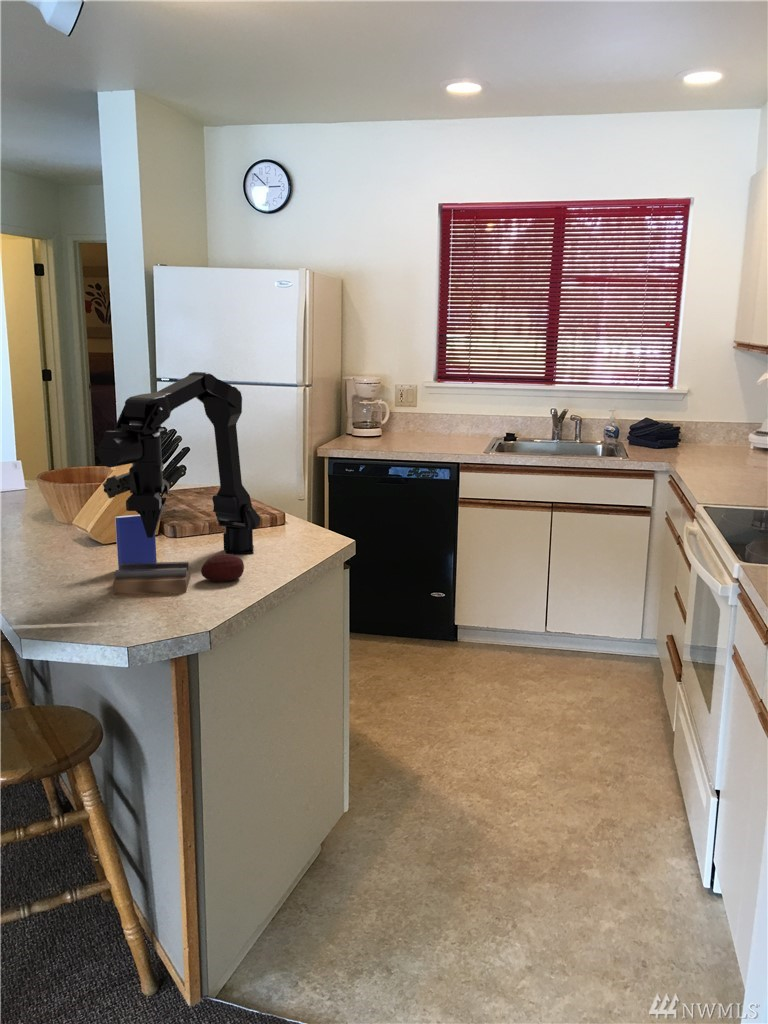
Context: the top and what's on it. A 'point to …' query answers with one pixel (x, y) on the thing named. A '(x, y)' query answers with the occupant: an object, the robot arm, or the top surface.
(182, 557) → the top surface
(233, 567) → the potato
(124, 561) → the hard drive
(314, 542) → the top surface
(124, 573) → the drive stand
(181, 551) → the top surface
